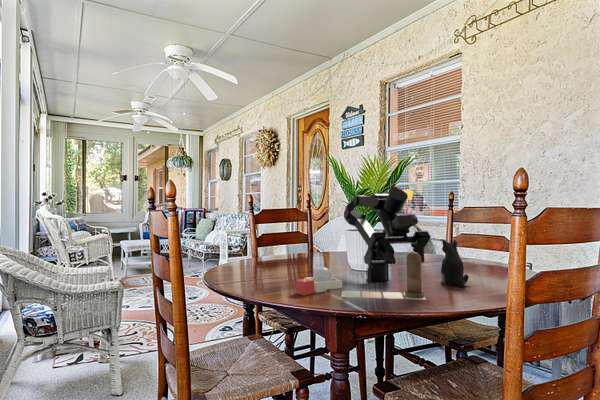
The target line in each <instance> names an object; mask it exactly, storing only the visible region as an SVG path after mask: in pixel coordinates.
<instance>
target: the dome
mask: <svg viewBox="0 0 600 400" xmlns="http://www.w3.org/2000/svg"><path fill="white" fill-rule="evenodd" d="M313 277H314V281H316V282H324V281H333V277H334V276H333V274H332V272H331V270H330V269H329V268H328V267H323V266H322V267H319V268H317V269H316V270H315V272H314V276H313Z"/></svg>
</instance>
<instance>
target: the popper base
mask: <svg viewBox="0 0 600 400" xmlns="http://www.w3.org/2000/svg"><path fill="white" fill-rule="evenodd" d="M332 277H333V281H324V282H316V281H314V293H315V294H316V293H327V292H329V290H334V289H335V290H336V289H337V290H338V289H343V280H342V279H339V278H336V277H335V276H332ZM305 278H306V279H310V280H314V276H309V277H308V276H307V277H305Z"/></svg>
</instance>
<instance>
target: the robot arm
mask: <svg viewBox="0 0 600 400" xmlns="http://www.w3.org/2000/svg"><path fill="white" fill-rule="evenodd" d="M408 196H409V195H408V193H407V192H405V191H404V190H402V189H399V187H398V186H391V187H390V189H389V192H388V193H373V194H370V195H363V194H362V195H361V194H360V195H358V194H357V195H354V196H353V198H352V200H351V201H350V202H349V203H348V204H346V207H345V208H344V209H345V210H344V211H343V218H344V220H345V222H347V224H348V225H350V226H353V227H355V228H356V230H357V231H358V233H359V234H360V236H361V238H362V239H363V241H364V242H365V244H366V245H367V250H366V252H365V255H364V256H363V260H364V261H363V262H364V264H365V265H367V268H366V269H367V270H366V271H367V272H366V273H367V274H366V277H367V278H365V280H366V281H367V282H370V283H372V284H376V283H386V282H391V280H390V277H389V275H390V274H389V270H390V269H389V265H396V263H397V261H396V258H395V249H394V246H393V244H394V245H402V244H410V246H411V247H412V248H413V249H412V252H417V253H418V254H419V255H420V256H421V264H423V263H424V262H425V248H426V246H427V244H428V242H429V241H430V239H431V238H432V237H431V235H430V233H429V231H427V230H420V231H419V230H418V231H416V230H415V232H414V234H413V235H410V236H408V234H409V233H410V231H411V229H410V228H411V227H414V226H416V225H417V224H418V222H419V221H418V217H417V216H416V214H415V213H411V214H410V213H409V214H399V213H400V212H402V210H403V208H404V206H405V204H406V202H407V200H408V198H409V197H408ZM358 206H359V207H364V206H365V207H366V209H368V207H369V209H370V210H371V211H375V212H378V217H377V220H376V221H377V222H378V223H381V225H382V228H383V230H382V231H379V232H378V231H377V232H376V231H375V230H374V228H373V227H372V225H371V223H369V222H368V220H367V217H366V215H363V214H361V213H359V212H358V211H356V210H354V209H355V208H357V207H358ZM398 214H399V215H398Z"/></svg>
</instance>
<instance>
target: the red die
mask: <svg viewBox="0 0 600 400" xmlns="http://www.w3.org/2000/svg"><path fill="white" fill-rule="evenodd" d="M306 278H307V277H304V278H299V279H295V281H294V282H295V283H294V284H295V294H297V295H301V296H303V297H304V296H308V295H313V294H315V292H314V280H310V279H306Z"/></svg>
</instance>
